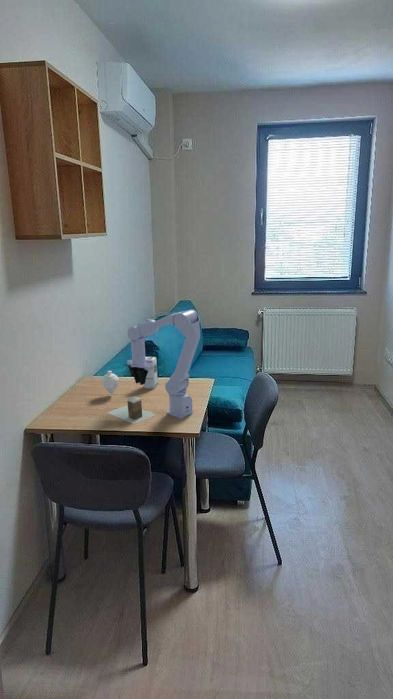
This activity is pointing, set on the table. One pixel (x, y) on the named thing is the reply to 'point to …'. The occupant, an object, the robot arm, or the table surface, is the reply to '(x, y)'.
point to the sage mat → (123, 414)
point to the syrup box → (151, 373)
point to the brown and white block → (134, 407)
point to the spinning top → (110, 382)
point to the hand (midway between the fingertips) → (140, 383)
